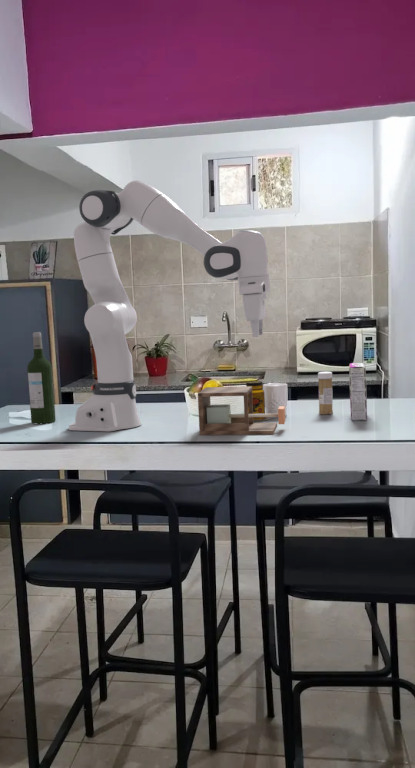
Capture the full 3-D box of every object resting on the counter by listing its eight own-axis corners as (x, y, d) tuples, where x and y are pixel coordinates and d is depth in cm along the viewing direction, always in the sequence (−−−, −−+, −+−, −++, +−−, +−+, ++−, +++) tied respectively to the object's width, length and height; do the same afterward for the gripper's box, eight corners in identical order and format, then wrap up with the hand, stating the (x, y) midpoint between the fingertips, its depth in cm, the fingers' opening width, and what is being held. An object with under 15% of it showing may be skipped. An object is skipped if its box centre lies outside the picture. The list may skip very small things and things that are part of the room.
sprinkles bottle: (317, 412, 227) (316, 371, 225) (331, 412, 227) (330, 371, 226) (321, 415, 222) (319, 373, 221) (335, 414, 223) (333, 372, 221)
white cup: (261, 416, 224) (260, 386, 223) (266, 412, 232) (265, 383, 231) (285, 417, 222) (284, 385, 221) (290, 412, 229) (289, 382, 228)
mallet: (207, 428, 202) (206, 407, 201) (211, 424, 207) (210, 404, 207) (284, 427, 198) (283, 406, 197) (285, 423, 203) (285, 403, 203)
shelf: (199, 434, 199) (197, 393, 197) (207, 426, 211) (205, 387, 210) (273, 434, 195) (271, 391, 194) (277, 425, 207) (275, 385, 206)
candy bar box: (350, 414, 221) (349, 363, 219) (366, 414, 220) (365, 362, 218) (350, 420, 210) (349, 366, 208) (367, 420, 209) (366, 366, 207)
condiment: (249, 422, 216) (247, 383, 215) (239, 418, 224) (238, 381, 223) (271, 420, 218) (269, 381, 217) (261, 416, 226) (259, 379, 225)
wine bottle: (58, 419, 237) (52, 331, 233) (51, 424, 229) (44, 332, 225) (36, 420, 238) (29, 332, 234) (28, 424, 230) (20, 333, 226)
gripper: (247, 288, 210) (251, 334, 211) (238, 288, 190) (242, 338, 191) (268, 287, 209) (272, 333, 210) (261, 286, 189) (265, 337, 190)
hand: (257, 336), depth 201 cm, fingers open, 8 cm apart
